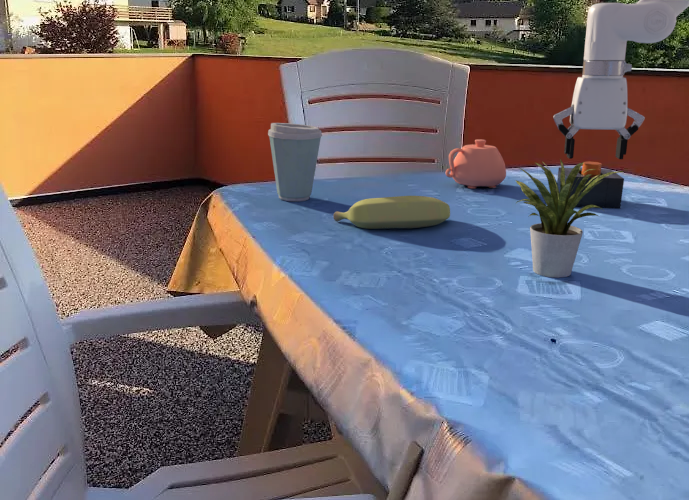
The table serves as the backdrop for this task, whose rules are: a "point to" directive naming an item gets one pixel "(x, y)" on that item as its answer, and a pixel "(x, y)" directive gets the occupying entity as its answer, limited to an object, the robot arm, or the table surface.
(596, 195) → the holder
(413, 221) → the banana
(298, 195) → the disposable coffee cup
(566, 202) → the house plant
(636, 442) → the table surface
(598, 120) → the robot arm
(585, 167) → the orange-capped white cylinder
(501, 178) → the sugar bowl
